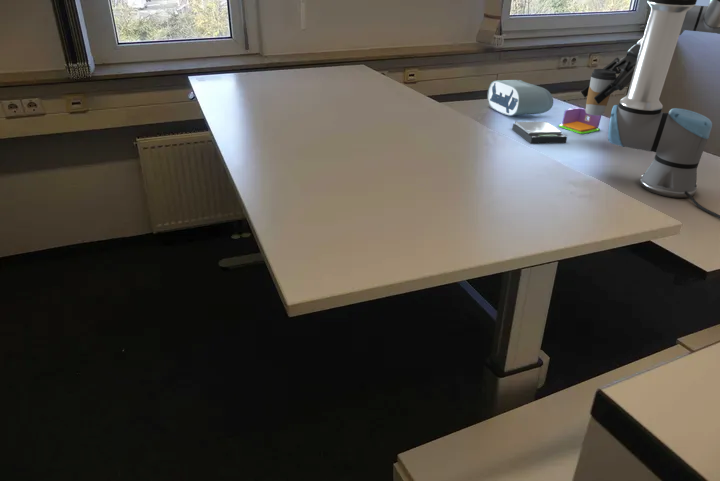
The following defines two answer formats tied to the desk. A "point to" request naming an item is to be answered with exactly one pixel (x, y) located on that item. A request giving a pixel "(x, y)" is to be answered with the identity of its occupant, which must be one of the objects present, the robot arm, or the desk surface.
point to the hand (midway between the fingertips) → (589, 97)
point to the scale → (539, 132)
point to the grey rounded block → (518, 98)
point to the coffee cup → (598, 90)
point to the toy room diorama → (580, 121)
